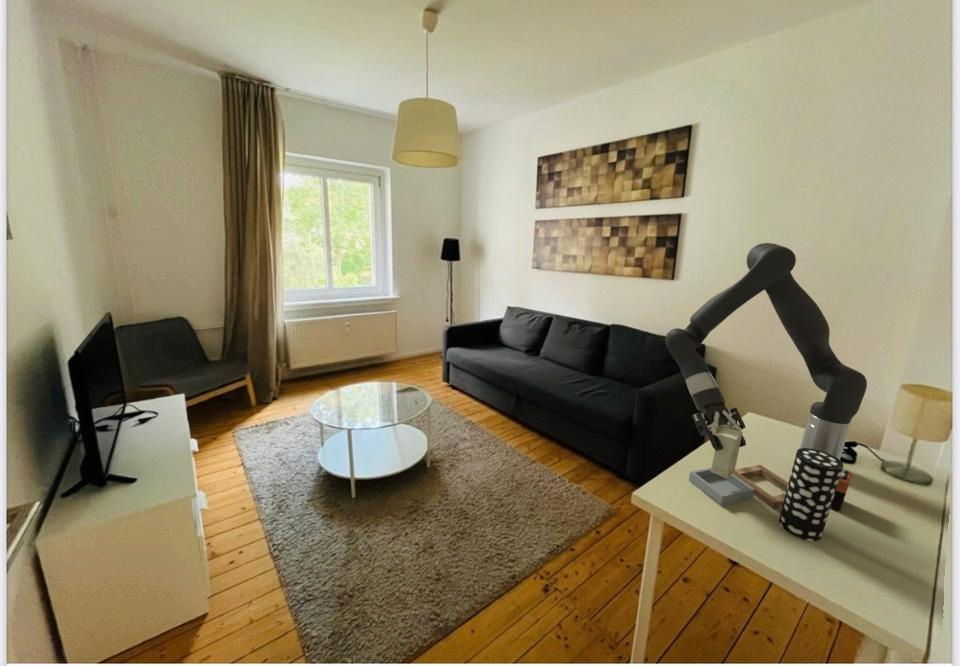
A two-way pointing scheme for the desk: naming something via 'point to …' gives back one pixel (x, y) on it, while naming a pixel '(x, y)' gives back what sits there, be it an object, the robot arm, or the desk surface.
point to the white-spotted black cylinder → (810, 493)
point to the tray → (721, 487)
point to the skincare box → (727, 452)
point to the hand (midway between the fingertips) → (731, 448)
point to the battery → (841, 490)
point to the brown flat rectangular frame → (760, 493)
